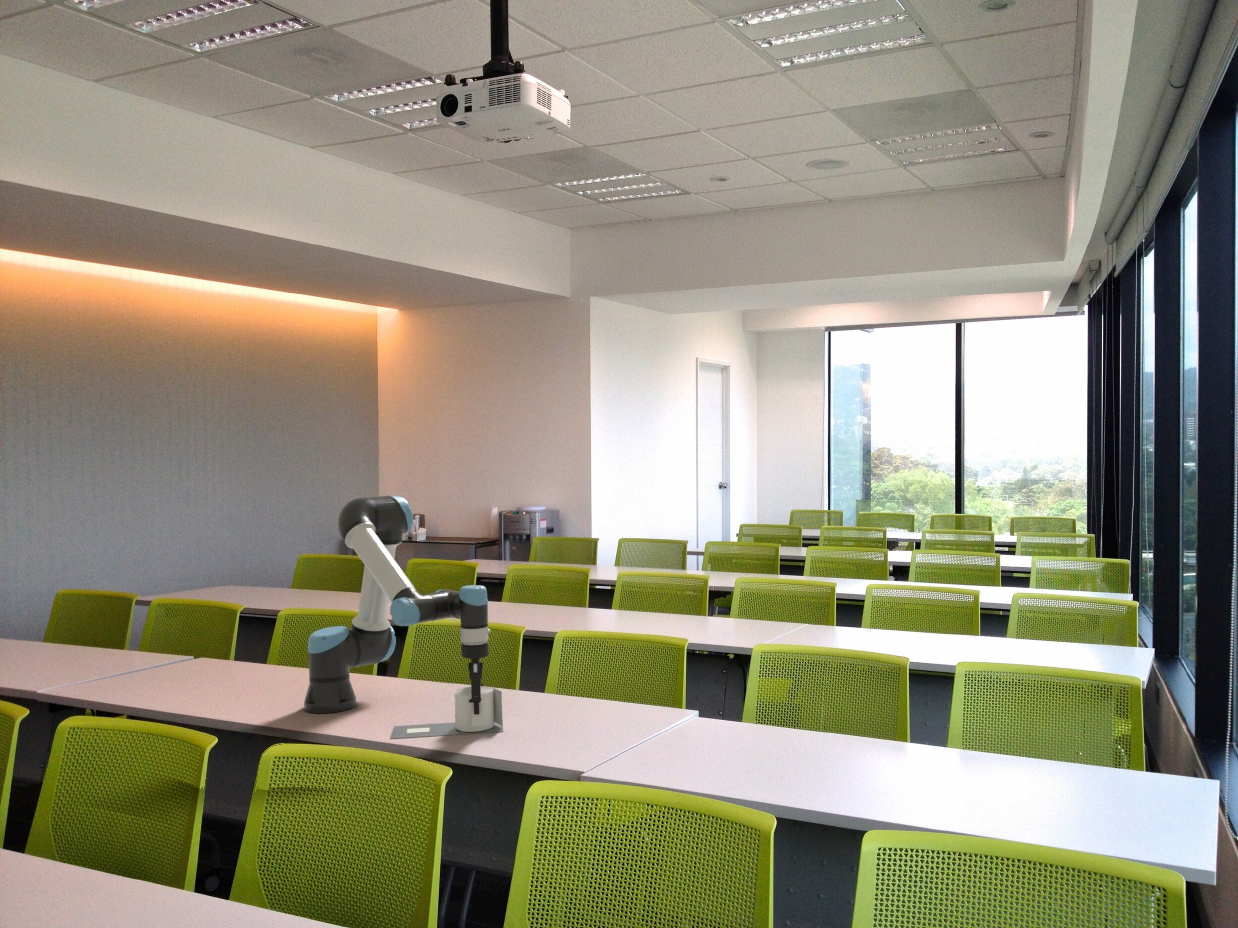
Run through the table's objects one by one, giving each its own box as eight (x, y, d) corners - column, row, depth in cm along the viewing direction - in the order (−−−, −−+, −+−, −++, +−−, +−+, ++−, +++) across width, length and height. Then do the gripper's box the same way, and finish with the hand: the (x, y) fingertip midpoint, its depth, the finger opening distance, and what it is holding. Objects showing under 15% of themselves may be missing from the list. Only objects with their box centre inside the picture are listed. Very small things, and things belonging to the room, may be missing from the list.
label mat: (390, 738, 267) (390, 738, 267) (394, 726, 279) (394, 725, 279) (503, 731, 271) (503, 730, 271) (502, 719, 283) (502, 718, 283)
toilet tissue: (451, 724, 279) (450, 688, 279) (494, 718, 283) (493, 683, 283) (459, 734, 269) (458, 697, 269) (503, 728, 273) (502, 692, 273)
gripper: (488, 650, 264) (491, 730, 264) (488, 633, 288) (490, 706, 289) (460, 652, 263) (462, 732, 263) (461, 634, 287) (464, 707, 288)
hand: (477, 718), depth 276 cm, fingers open, 13 cm apart
